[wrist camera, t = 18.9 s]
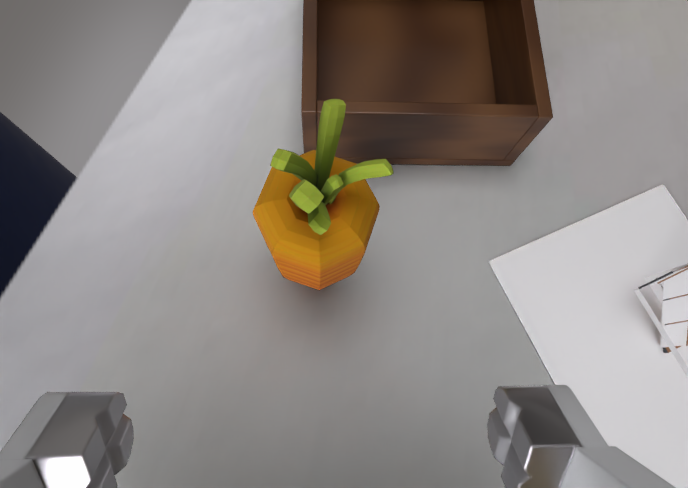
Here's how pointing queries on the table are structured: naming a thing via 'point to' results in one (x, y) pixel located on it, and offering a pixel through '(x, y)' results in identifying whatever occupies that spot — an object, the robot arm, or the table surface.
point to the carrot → (319, 207)
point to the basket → (426, 79)
